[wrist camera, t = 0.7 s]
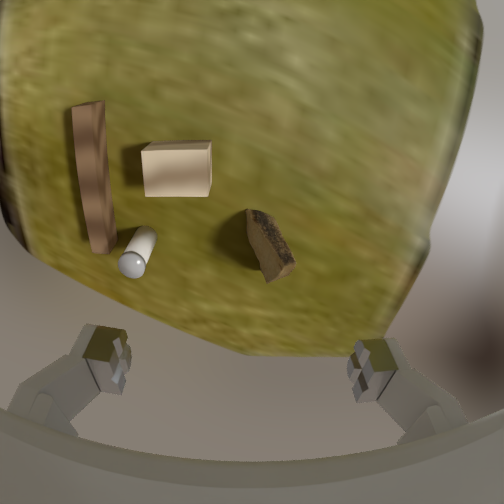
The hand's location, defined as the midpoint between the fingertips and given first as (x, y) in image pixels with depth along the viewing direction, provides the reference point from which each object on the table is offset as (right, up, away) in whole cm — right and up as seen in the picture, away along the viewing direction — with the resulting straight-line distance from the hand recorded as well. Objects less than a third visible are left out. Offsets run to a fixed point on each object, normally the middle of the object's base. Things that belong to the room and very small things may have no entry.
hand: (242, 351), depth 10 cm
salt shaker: (-16, +6, +35) cm, 39 cm away
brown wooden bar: (-22, +14, +29) cm, 39 cm away
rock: (+2, +5, +36) cm, 37 cm away
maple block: (-9, +15, +29) cm, 34 cm away
